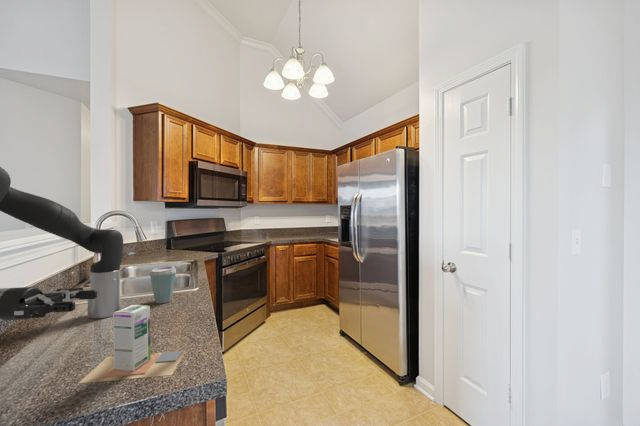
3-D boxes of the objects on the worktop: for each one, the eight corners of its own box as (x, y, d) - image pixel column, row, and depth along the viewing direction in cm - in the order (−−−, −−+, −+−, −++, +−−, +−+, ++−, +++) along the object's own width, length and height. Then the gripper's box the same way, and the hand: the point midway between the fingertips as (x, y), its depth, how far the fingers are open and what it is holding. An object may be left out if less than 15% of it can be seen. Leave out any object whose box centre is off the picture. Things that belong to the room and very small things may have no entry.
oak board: (77, 387, 64) (77, 383, 64) (107, 360, 76) (107, 356, 76) (171, 379, 68) (171, 374, 68) (186, 354, 80) (186, 350, 80)
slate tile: (155, 362, 73) (155, 361, 73) (162, 353, 78) (162, 352, 78) (176, 361, 74) (176, 360, 74) (181, 351, 79) (181, 350, 79)
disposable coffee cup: (161, 306, 120) (161, 271, 120) (143, 303, 124) (143, 269, 124) (181, 299, 130) (181, 266, 130) (164, 296, 134) (164, 265, 134)
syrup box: (133, 372, 69) (133, 312, 69) (112, 369, 69) (112, 311, 69) (151, 359, 74) (151, 305, 74) (131, 358, 75) (131, 303, 75)
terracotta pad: (103, 377, 67) (103, 376, 67) (123, 358, 76) (123, 357, 76) (145, 373, 68) (145, 372, 68) (159, 355, 77) (159, 354, 77)
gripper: (-22, 298, 60) (65, 294, 63) (33, 280, 74) (102, 277, 77) (-20, 332, 61) (66, 327, 63) (34, 308, 75) (103, 304, 77)
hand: (86, 299), depth 70 cm, fingers open, 8 cm apart
